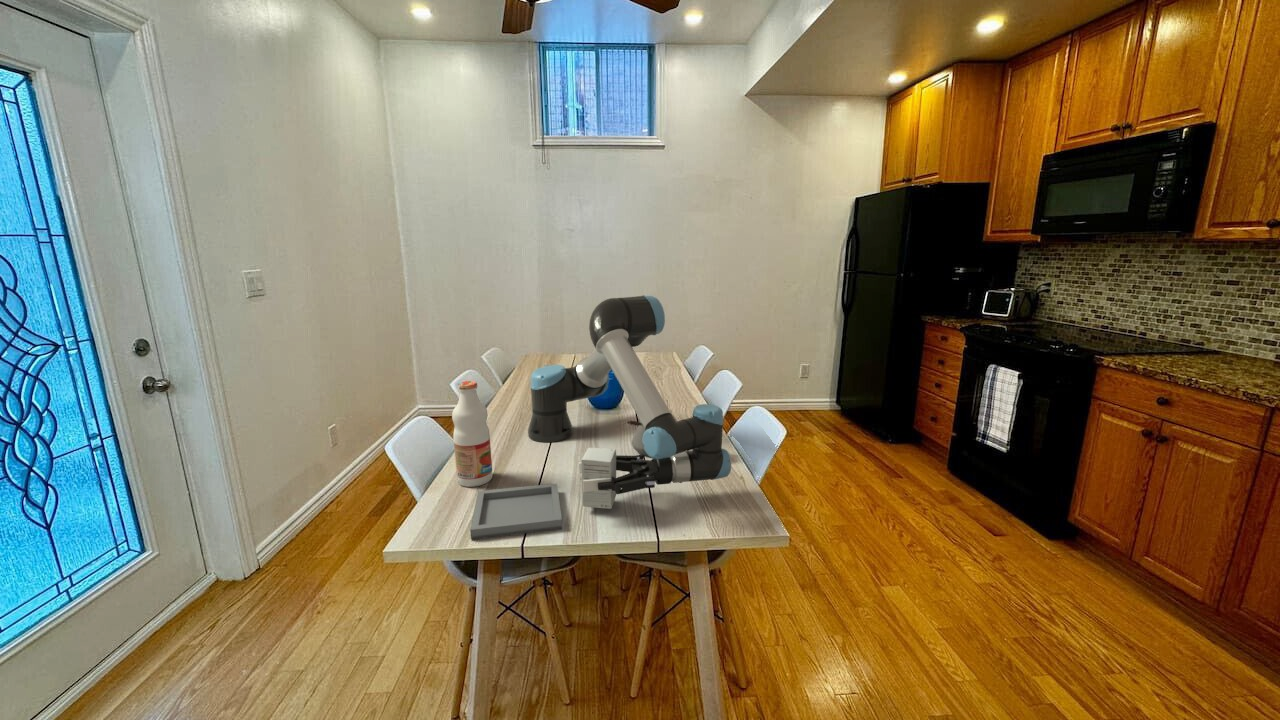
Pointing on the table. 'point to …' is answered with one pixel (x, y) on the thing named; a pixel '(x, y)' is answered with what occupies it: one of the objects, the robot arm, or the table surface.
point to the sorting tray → (516, 511)
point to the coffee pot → (638, 437)
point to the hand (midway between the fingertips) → (581, 476)
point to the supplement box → (599, 476)
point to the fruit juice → (471, 438)
